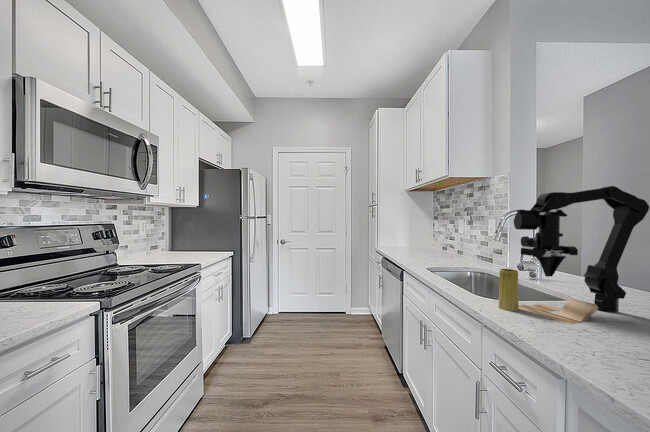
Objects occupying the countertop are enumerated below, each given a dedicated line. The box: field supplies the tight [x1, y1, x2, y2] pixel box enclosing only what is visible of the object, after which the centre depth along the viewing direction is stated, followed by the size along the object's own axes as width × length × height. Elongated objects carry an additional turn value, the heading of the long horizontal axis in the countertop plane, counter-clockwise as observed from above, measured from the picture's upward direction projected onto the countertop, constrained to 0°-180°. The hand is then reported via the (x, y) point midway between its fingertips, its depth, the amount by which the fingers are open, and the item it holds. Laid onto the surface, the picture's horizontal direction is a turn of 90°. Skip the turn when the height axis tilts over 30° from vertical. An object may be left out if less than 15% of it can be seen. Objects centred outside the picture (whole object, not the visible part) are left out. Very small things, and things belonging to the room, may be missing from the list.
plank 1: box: [529, 303, 561, 313], centre depth 112 cm, size 8×8×1 cm
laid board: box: [519, 304, 583, 325], centre depth 105 cm, size 5×20×2 cm, turn 17°
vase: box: [498, 268, 520, 312], centre depth 110 cm, size 6×6×14 cm
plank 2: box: [556, 298, 598, 323], centre depth 101 cm, size 8×8×1 cm
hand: (548, 276), depth 112 cm, fingers closed
